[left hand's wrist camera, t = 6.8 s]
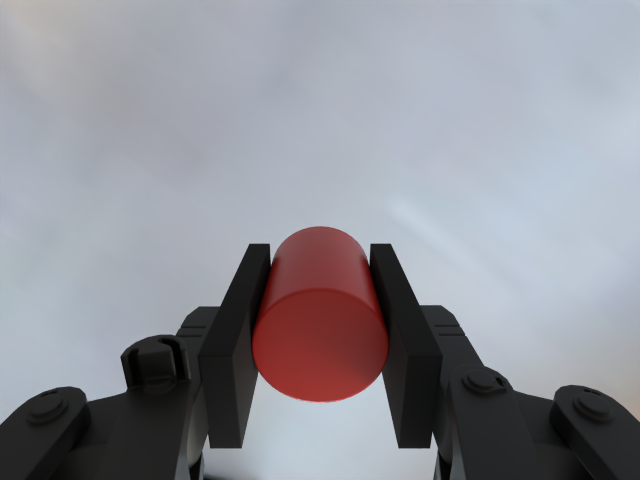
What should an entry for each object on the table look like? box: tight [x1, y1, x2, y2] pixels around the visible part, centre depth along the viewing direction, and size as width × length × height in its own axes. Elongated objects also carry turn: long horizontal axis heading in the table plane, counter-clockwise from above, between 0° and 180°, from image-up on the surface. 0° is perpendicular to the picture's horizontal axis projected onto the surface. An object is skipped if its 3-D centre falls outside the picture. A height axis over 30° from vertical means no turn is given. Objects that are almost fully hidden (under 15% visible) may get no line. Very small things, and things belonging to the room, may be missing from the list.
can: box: [251, 226, 389, 403], centre depth 13 cm, size 4×4×5 cm
